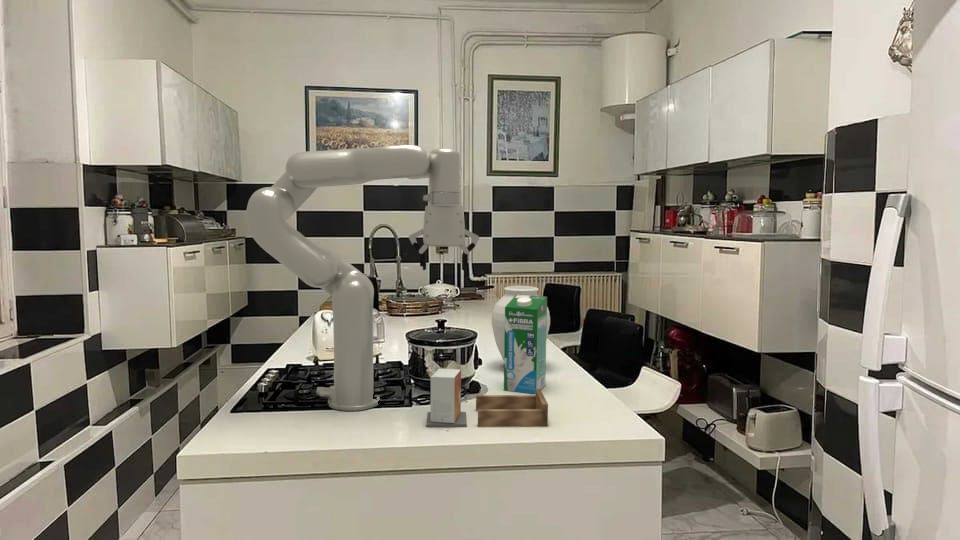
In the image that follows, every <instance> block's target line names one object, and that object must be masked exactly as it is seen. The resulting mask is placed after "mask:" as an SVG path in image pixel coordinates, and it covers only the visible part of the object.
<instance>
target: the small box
mask: <svg viewBox="0 0 960 540" xmlns="http://www.w3.org/2000/svg"><path fill="white" fill-rule="evenodd" d="M461 396H462V369H452V368H438V369H437V370H436V371H435V372H434V373H433V374H432V375H431V376H430V412H431V422H441V423H455V421H456V419H457V418H458V416H459V415H460V413H461V412H462V411H461V409H462V408H461V407H462V406H461V405H462V404H461V403H462V398H461Z"/></svg>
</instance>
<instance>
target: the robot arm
mask: <svg viewBox="0 0 960 540" xmlns="http://www.w3.org/2000/svg"><path fill="white" fill-rule="evenodd" d="M460 155H461V154H460V152H459V151H458V150H457V149H453V148H434V149H432V150H425V149H424V148H423V147H422V146H420V145H417V144H406V145H405V144H404V145H390V146H389V145H388V146H377V147H375V146H374V147H359V148H357V147H355V148H347V149H346V148H345V149H342V148H341V149H331V150H330V149H329V150H313V151H312V150H311V151H300V152H299V151H298V152H296V153H293V154H292V155H291V156H290V157H288V159H287V161H286V164H285V171H284V173H283V174H282V175H280V177H279V178H278V180H276V181H275V183H274V184H272V185H271V186H266V187H262V188H259V189H257V190H255V192H253V193H252V195H251V196H250V198H249V199H248V202H247V207H246V210H245V211H246V212H245V220H246V225H247V229H248V230H249V234H250V235H251V237H252V239H253V240H254V241H255V242H256V243H257V244H258V245H259V247H260V248H262V249H263V251H265V252H266V253H268V254H269V255H270V256H271V257H272V258H274V259H275V260H276V261H277V262H279V263H280V264H281V265H282V266H283V267H285V268H286V269H287V270H289V271H290V272H291V273H293V274H294V275H295V276H297V277H298V278H299V279H300V280H301V281H302V282H304V283H305V284H306V285H308V286H310V287H312V288H320V289H322V291H324V292H325V293H327V294H329V295H330V296H331V297H332V299H331V303H332V321H333V323H332V325H333V328H332V329H333V374H334V375H333V378H334V379H333V382H334V383H333V385H330V386H329V387H325V386H317V387H316V395H317V396H319V397H324V398H325V397H328V400H327V405H328V404H329V405H328V406H329V407H330V408H331V409H333V410H338V411H346V412H347V411H349V412H352V411H353V412H355V411H364V410H369V409H372V408H374V407H377V406H378V405H379V404H378V401H379V400H380V401H381V398H380V396H379V395H377V396H378V397H377V398H376V399H377V400H376V399H373V394H374V296H375V295H374V294H375V288H374V285H373V282H372V281H371V280H370V278H369V277H367V275H365V274H364V273H362V271H360V270H359V269H358V268H356V267H355V266H353V265H352V264H351V263H350V262H348V261H347V260H346V259H344V258H343V257H342V256H340V255H339V254H338V253H337V252H336V251H334V250H332V249H330V248H327V247H323V246H318V245H317V244H315V243H313V242H312V241H311V240H310V239H308V238H307V237H305V235H303V234H302V233H301V232H299V231H298V230H297V229H295V228H294V227H293V226H292V225H290V224H289V223H288V222H287V220H289V218H291V217H292V216H293V215H294V214H295V213H296V212H297V210H298V209H299V208H300V207H302V205H303V204H304V203H305V202H306V201H307V200H308V199H309V198H310V197H311V196H312V195H313V193H314V192H315V191H316V190H317V189H318V188H320V187H321V188H323V187H324V188H325V187H337V186H355V185H362V184H365V183H368V182H372V181H378V180H391V179H392V180H393V179H408V180H419V179H420V180H421V179H428V192H429V193H427V194H426V195H425V194H424V195H423V196H422V201H425V202H427V203H428V205H426V206H425V209H424V214H423V228H422V229H420V230H417V231H416V232H414V233H412V234H410V235H408V239H409V241H410V243H411V245H412V247H413V248H414V249H415V250H416V251H417V252H418V253H419V267H422V270H423V271H425V270H426V269H427V253H426V250H427V249H428V248H430V247H459V248H460V249H461V250H462V253H461V270H462V271H465V270H466V268H468V264H469V256H468V255H469V253H470V252H471V251H472V250H473V249H475V247H476V245H477V244H478V241H479V240H480V236H479V235H477V234H476V233H473V232H471V231H470V230H468V229H466V225H465V224H466V223H465V214H464V207H463V205H460V198H461V197H460V195H461V193H460V192H461V191H460V188H461V184H460V183H461V179H460V178H461V177H460V176H461V156H460ZM420 236H422V238H423V239H422V240H423V245H422V246H421V245H420V244H419V243H418V241H417V238H418V237H420ZM466 236H467V237H469V238H471V240H472V241H471V242H470V243H469V245H468V246H467V245H465V241H466ZM330 399H331V400H330Z"/></svg>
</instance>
